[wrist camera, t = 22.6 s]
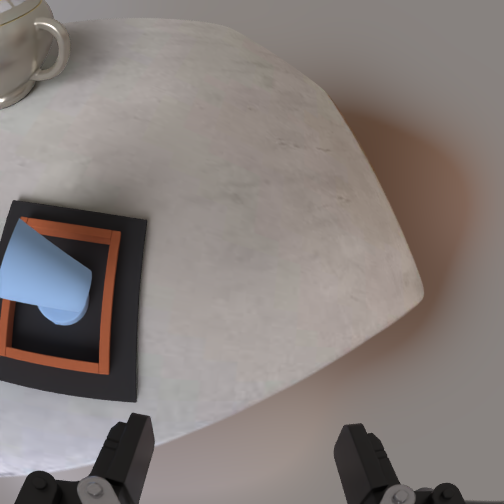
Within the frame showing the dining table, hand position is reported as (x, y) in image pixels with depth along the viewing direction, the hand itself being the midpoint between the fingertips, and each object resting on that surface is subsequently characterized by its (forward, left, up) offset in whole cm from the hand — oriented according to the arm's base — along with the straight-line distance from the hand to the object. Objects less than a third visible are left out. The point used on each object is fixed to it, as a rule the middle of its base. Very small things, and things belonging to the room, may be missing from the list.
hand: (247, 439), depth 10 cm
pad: (+8, +11, -14) cm, 19 cm away
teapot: (+32, +26, -14) cm, 43 cm away
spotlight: (+8, +11, -13) cm, 19 cm away
